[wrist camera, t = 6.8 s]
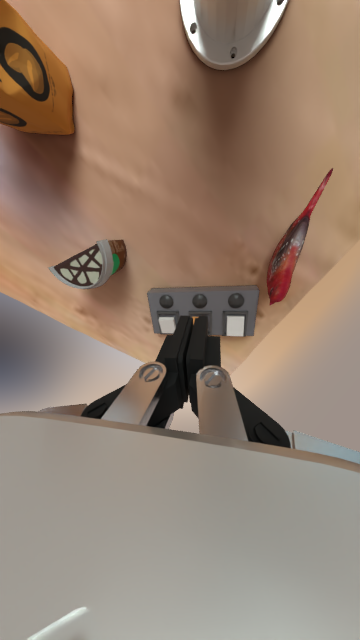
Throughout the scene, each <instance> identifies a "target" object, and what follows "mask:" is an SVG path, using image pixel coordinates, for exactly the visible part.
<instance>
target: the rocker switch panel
mask: <svg viewBox="0 0 360 640" xmlns="http://www.w3.org/2000/svg"><path fill="white" fill-rule="evenodd" d="M147 295H148V301H149V306H150V312H151V317H152V323H153V328H154V333H160V334H174V333H162V331H161V327H160V324H159V317H174V320H175V324H176V326H177V323H178V321H179V318H180V316H190V318H192V317H199V316H208V335H222V336H227V335H226V333H227V316H244V333H243V336H254V328H255V320H256V312H257V305H258V297H259V289H258V287H257V286H256V285H252V286H218V287H184V288H152V289H151V290H150V291H149V292H147Z"/></svg>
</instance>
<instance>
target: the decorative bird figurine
mask: <svg viewBox="0 0 360 640" xmlns="http://www.w3.org/2000/svg"><path fill="white" fill-rule="evenodd" d="M332 171H333V168H332V169H331V170H330V171H329V172H328V174H327V175H326V177H325V178H324V180H323V182H322V183H321V185H320V186H319V188H318V189H317V191H316V192H315V194H314V196H313V197H312V199H311V200H310V202H309V204H308V205H307V207H306V208H305V210H304V211H303V212H302V213H301V215H300V216H299V217H298V218H297V219H296V220H295V221H294V222H293V223H292V224H291V226H290V227H289V229H288V230H287V232H286V233H285V235H284V236H283V238H282V239H281V241H280V242H279V244H278V246H277V247H276V249H275V251H274V254H273V256H272V259H271V261H270V265H269V268H268V273H267V287H268V295H269V298H270V305H272V304H274V303H275V302H280V301H282V300H283V299H284V297H285V296H286V294H287V292H288V290H289V287H290V283H291V278H292V274H293V271H294V268H295V266H296V263H297V260H298V258H299V255H300V253H301V250H302V247H303V244H304V240H305V237H306V233H307V230H308V226H309V220H310V215H311V213H312V211H313V209H314V207H315V205H316V203H317V201H318V199H319V197H320V195H321V193H322V191H323V189H324V187H325V186H326V184H327V182H328V180H329V177H330V176H331V173H332Z"/></svg>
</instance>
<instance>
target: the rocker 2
mask: <svg viewBox="0 0 360 640" xmlns="http://www.w3.org/2000/svg"><path fill="white" fill-rule="evenodd" d="M243 333H244V316H227V333H226V335H227V336H243Z"/></svg>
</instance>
